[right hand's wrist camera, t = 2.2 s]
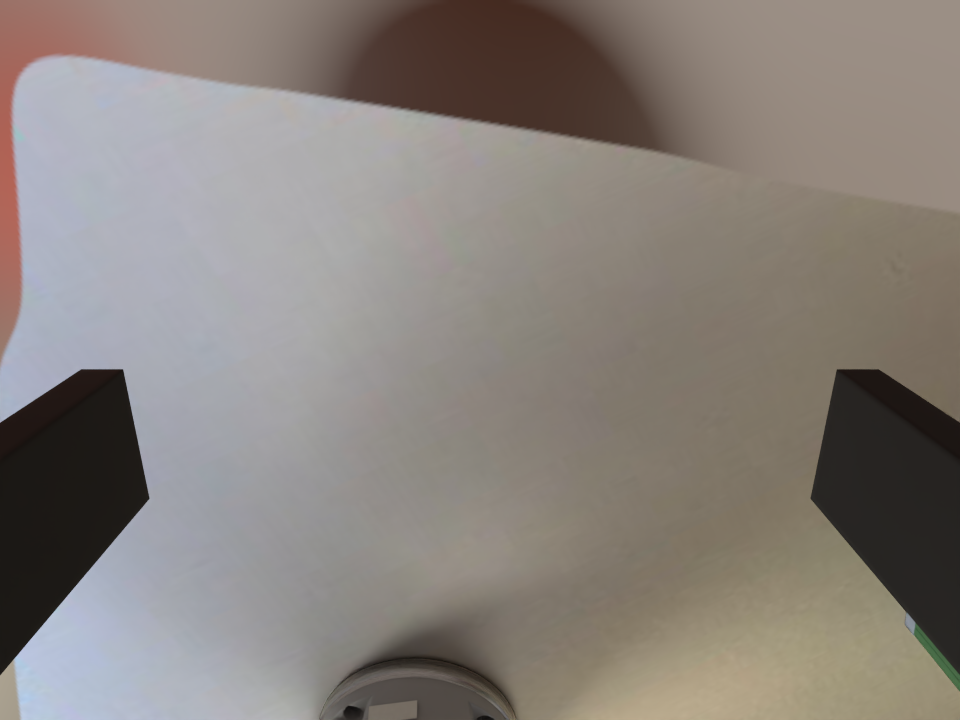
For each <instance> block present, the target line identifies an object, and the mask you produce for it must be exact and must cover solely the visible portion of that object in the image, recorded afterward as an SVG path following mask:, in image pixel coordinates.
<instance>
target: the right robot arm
mask: <svg viewBox="0 0 960 720" xmlns="http://www.w3.org/2000/svg"><path fill="white" fill-rule="evenodd" d="M148 500H149V494H148V489H147V484H146V480H145V475H144V470H143V465H142V460H141V455H140V450H139V445H138V440H137V435H136V431H135V426H134V421H133V416H132V411H131V406H130V401H129V396H128V391H127V386H126V382H125V377H124V372H123V369H81V370H80V371H78V372H77V373H75V374H74V375H72V376H71V377H69V378H68V379H66V380H65V381H63V382H62V383H60V384H58V385H57V386H55V387H54V388H52V389H51V390H49V391H48V392H46V393H45V394H43V395H42V396H40V397H39V398H37V399H36V400H34V401H33V402H31V403H30V404H28V405H27V406H25V407H23V408H22V409H20V410H19V411H17V412H16V413H14V414H13V415H11V416H10V417H8V418H7V419H5V420H4V421H2V422H1V423H0V675H1V674H2V672H3V671H4V670H5V669H6V668H7V666H8V665H9V664H10V663H11V662H12V661H13V659H14V658H15V657H16V656H17V655H18V654H19V652H20V651H21V650H22V649H23V648H24V646H25V645H26V644H27V643H28V642H29V641H30V639H31V638H32V637H33V636H34V635H35V633H36V632H37V631H38V630H39V629H40V627H41V626H42V625H43V624H44V623H45V622H46V620H47V619H48V618H49V617H50V616H51V614H52V613H53V612H54V611H55V610H56V609H57V607H58V606H59V605H60V604H61V603H62V601H63V600H64V599H65V598H66V597H67V596H68V594H69V593H70V592H71V591H72V590H73V588H74V587H75V586H76V585H77V584H78V583H79V581H80V580H81V579H82V578H83V577H84V575H85V574H86V573H87V572H88V571H89V570H90V568H91V567H92V566H93V565H94V564H95V562H96V561H97V560H98V559H99V558H100V557H101V555H102V554H103V553H104V552H105V551H106V549H107V548H108V547H109V546H110V545H111V543H112V542H113V541H114V540H115V539H116V538H117V536H118V535H119V534H120V533H121V532H122V530H123V529H124V528H125V527H126V526H127V525H128V523H129V522H130V521H131V520H132V519H133V517H134V516H135V515H136V514H137V513H138V512H139V510H140V509H141V508H142V507H143V506H144V504H145V503H146V502H147V501H148ZM811 500H812V501H813V502H814V503H815V504H816V506H817V507H818V508H819V509H820V510H821V512H822V513H823V514H824V515H825V516H826V517H827V519H828V520H829V521H830V522H831V523H832V525H833V526H834V527H835V528H836V529H837V530H838V532H839V533H840V534H841V535H842V536H843V538H844V539H845V540H846V541H847V542H848V543H849V545H850V546H851V547H852V548H853V549H854V551H855V552H856V553H857V554H858V555H859V557H860V558H861V559H862V560H863V561H864V562H865V564H866V565H867V566H868V567H869V568H870V570H871V571H872V572H873V573H874V574H875V575H876V577H877V578H878V579H879V580H880V581H881V583H882V584H883V585H884V586H885V587H886V588H887V590H888V591H889V592H890V593H891V594H892V596H893V597H894V598H895V599H896V600H897V601H898V603H899V604H900V605H901V606H902V607H903V609H904V610H905V611H906V612H907V613H908V614H909V616H910V617H911V618H912V619H913V620H914V622H915V623H916V624H917V625H918V626H919V627H920V629H921V630H922V631H923V632H924V633H925V635H926V636H927V637H928V638H929V639H930V640H931V642H932V643H933V644H934V645H935V646H936V648H937V649H938V650H939V651H940V652H941V654H942V655H943V656H944V657H945V658H946V659H947V661H948V662H949V663H950V664H951V665H952V667H953V668H954V669H955V670H956V671H957V672H958V674H959V675H960V423H959V422H958V421H956V420H955V419H953V418H952V417H950V416H949V415H947V414H946V413H944V412H943V411H941V410H940V409H938V408H937V407H935V406H933V405H932V404H930V403H929V402H927V401H926V400H924V399H923V398H921V397H920V396H918V395H917V394H915V393H914V392H912V391H911V390H909V389H908V388H906V387H905V386H903V385H902V384H900V383H898V382H897V381H895V380H894V379H892V378H891V377H889V376H888V375H886V374H885V373H883V372H882V371H880V370H879V369H837V372H836V377H835V382H834V386H833V391H832V396H831V401H830V406H829V411H828V416H827V421H826V426H825V431H824V435H823V440H822V445H821V450H820V455H819V460H818V465H817V470H816V475H815V480H814V484H813V489H812V494H811ZM320 720H516V718H515V715H514V713H513V710H512V708H511V706H510V705H509V703H508V701H507V700H506V698H505V697H504V696H503V695H502V693H501V692H500V691H499V690H498V689H497V688H496V687H495V686H493V685H492V684H491V683H490V682H489V681H487V680H486V679H484V678H483V677H481V676H479V675H478V674H476V673H474V672H472V671H470V670H468V669H466V668H463V667H460V666H458V665H455V664H451V663H447V662H443V661H438V660H431V659H416V658H413V659H399V660H392V661H387V662H382V663H379V664H375V665H373V666H370V667H367V668H365V669H363V670H361V671H359V672H357V673H355V674H353V675H352V676H350V677H349V678H347V679H346V680H345V681H343V682H342V683H341V684H340V685H339V686H338V687H337V688H336V689H335V690H334V691H333V692H332V694H331V695H330V696H329V698H328V699H327V701H326V703H325V705H324V707H323V710H322V713H321V716H320Z"/></svg>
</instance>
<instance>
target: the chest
mask: <svg viewBox="0 0 960 720" xmlns="http://www.w3.org/2000/svg"><path fill="white" fill-rule="evenodd" d="M905 625H906V627H907V628H908V629H909V630H910V632H911V633H912V634H913V635H915V637H916V638H917V639H918V640H919V642H920V643H921V644H922V645H923V647H924V648H925V649H926V650H927V652H928V653H929V654H930V655H931V656H932V658H933V659H934V660H935V661H936V663H937V664H938V665H939V666H940V668H941V669H942V670H943V671H944V673H945V674H946V675H947V676H948V678H949V679H950V680H951V681H952V682H953V684H954V685H955V686H956V687H957V689H958V690H959V691H960V675H959V674H958V672H957V671H956V670H955V669H954V668H953V667H952V665H951V664H950V663H949V662H948V661H947V659H946V658H945V657H944V656H943V655H942V654H941V652H940V651H939V650H938V649H937V648H936V646H935V645H934V644H933V643H932V642H931V640H930V639H929V638H928V637H927V636H926V635H925V633H924V632H923V631H922V630H921V629H920V627H919V626H918V625H917V624H916V623H915V622H914V620H913V619H912V618H911V617H910V616H909V614H908V613H906V620H905Z"/></svg>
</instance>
